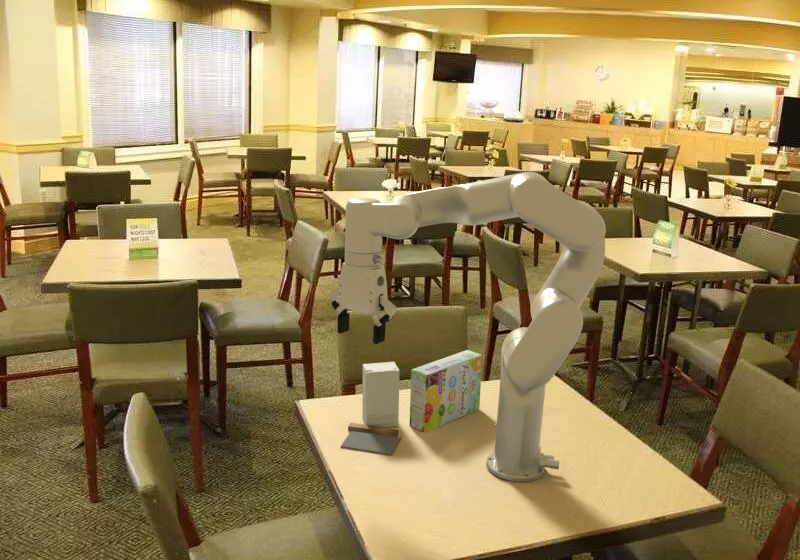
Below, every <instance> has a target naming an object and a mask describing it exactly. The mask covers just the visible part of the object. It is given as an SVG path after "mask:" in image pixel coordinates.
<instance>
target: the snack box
mask: <svg viewBox="0 0 800 560" xmlns="http://www.w3.org/2000/svg"><path fill="white" fill-rule="evenodd" d="M482 362H483V354H481V353H478V352H475V351H472V350H468V349H466V350H464V351H460V352H457V353H455V354H452V355H449V356H446V357H444V358H440V359H437V360H435V361H432V362H429V363H426V364H423V365H420V366H417V367H415V368H412V369H411V370H410V371H411V373H410V400H409V401H410V402H409V403H410V404H409V405H410V406H409V427H410V428H413V429H416V430H418V431H419V432H422V433H424V434H425V433H427V432H429V431H431V430H434V429H436V428H438V427H441V426H443V425H445V424H447V423H450V422H452V421H454V420H457V419H459V418H461V417H463V416H466V415H468V414H471V413H473V412H475V411H477V410H480V404H481V402H480V401H481V385H482V384H481V383H482V367H483V363H482Z"/></svg>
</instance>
